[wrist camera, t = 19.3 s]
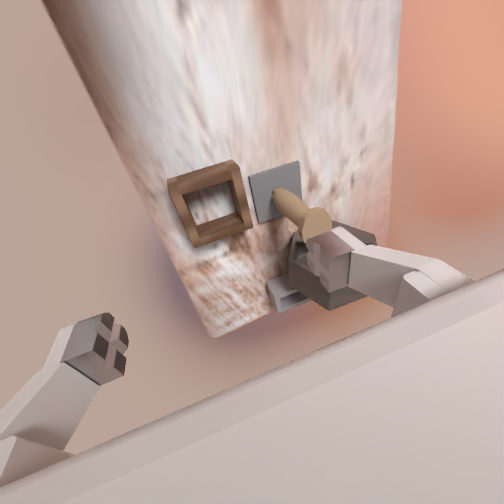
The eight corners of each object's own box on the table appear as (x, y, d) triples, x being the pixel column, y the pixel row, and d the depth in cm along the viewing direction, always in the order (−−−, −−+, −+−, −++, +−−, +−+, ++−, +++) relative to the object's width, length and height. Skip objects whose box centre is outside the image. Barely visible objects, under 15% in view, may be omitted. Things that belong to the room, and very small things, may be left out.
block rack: (265, 280, 60) (274, 297, 55) (362, 243, 63) (378, 256, 58) (269, 297, 64) (278, 313, 59) (359, 261, 67) (374, 274, 62)
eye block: (167, 179, 39) (167, 189, 35) (231, 159, 40) (239, 167, 36) (191, 234, 46) (194, 248, 42) (245, 216, 47) (253, 227, 43)
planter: (371, 220, 52) (386, 287, 37) (366, 247, 57) (378, 316, 42) (296, 220, 57) (282, 278, 42) (297, 244, 62) (285, 305, 47)
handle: (270, 212, 47) (305, 252, 36) (263, 184, 43) (299, 218, 32) (291, 203, 48) (333, 240, 36) (286, 174, 44) (330, 205, 32)
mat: (248, 176, 43) (249, 177, 42) (297, 160, 44) (299, 161, 43) (258, 221, 49) (259, 223, 48) (300, 206, 50) (302, 208, 49)
